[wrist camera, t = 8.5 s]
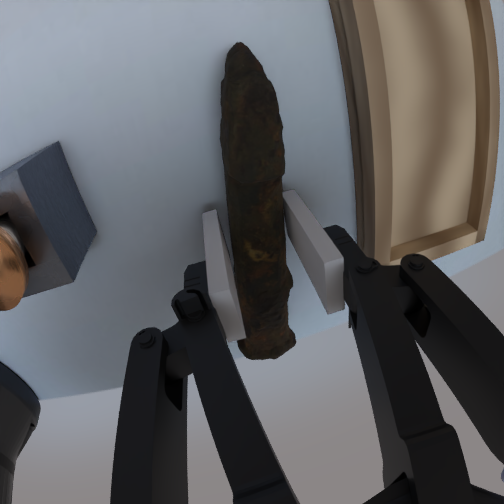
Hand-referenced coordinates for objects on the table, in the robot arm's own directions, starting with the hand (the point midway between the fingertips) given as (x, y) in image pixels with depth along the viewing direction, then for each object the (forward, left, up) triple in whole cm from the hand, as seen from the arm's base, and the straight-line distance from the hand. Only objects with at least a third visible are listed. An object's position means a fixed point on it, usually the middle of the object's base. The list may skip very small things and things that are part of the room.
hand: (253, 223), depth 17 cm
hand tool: (0, 0, -2) cm, 2 cm away
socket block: (-12, +4, -2) cm, 13 cm away
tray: (+12, +4, -2) cm, 13 cm away
